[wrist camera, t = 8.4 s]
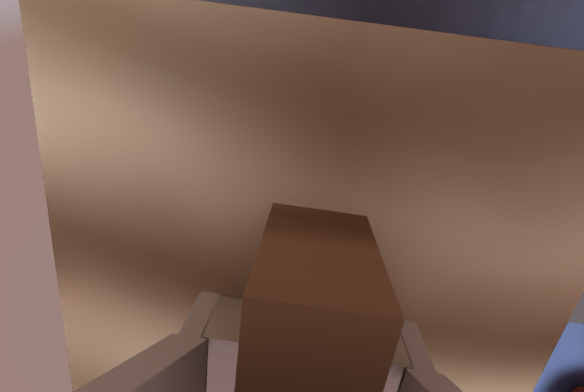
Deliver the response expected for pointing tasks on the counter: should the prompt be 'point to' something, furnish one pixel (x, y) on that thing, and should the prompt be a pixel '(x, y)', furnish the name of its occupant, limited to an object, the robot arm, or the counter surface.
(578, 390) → the onion
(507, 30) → the counter surface
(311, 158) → the lid
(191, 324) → the robot arm
